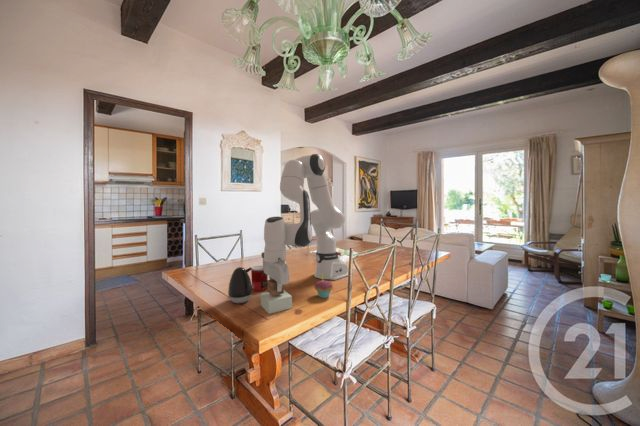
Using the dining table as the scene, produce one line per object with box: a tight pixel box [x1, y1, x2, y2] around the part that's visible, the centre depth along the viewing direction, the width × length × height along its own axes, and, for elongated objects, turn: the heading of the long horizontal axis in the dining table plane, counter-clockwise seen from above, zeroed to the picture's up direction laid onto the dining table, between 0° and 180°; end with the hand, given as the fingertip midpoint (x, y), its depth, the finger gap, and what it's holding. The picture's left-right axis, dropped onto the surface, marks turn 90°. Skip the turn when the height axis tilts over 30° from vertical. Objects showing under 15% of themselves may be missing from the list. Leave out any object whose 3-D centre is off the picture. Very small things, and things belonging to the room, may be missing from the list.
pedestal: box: [260, 290, 293, 315], centre depth 106 cm, size 10×10×5 cm
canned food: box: [250, 265, 269, 293], centre depth 127 cm, size 8×8×11 cm
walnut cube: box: [267, 279, 285, 296], centre depth 106 cm, size 5×5×5 cm
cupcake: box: [314, 273, 334, 299], centre depth 117 cm, size 9×8×12 cm
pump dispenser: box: [227, 266, 253, 304], centre depth 112 cm, size 10×10×15 cm
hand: (275, 288), depth 106 cm, fingers closed on walnut cube, 5 cm apart
